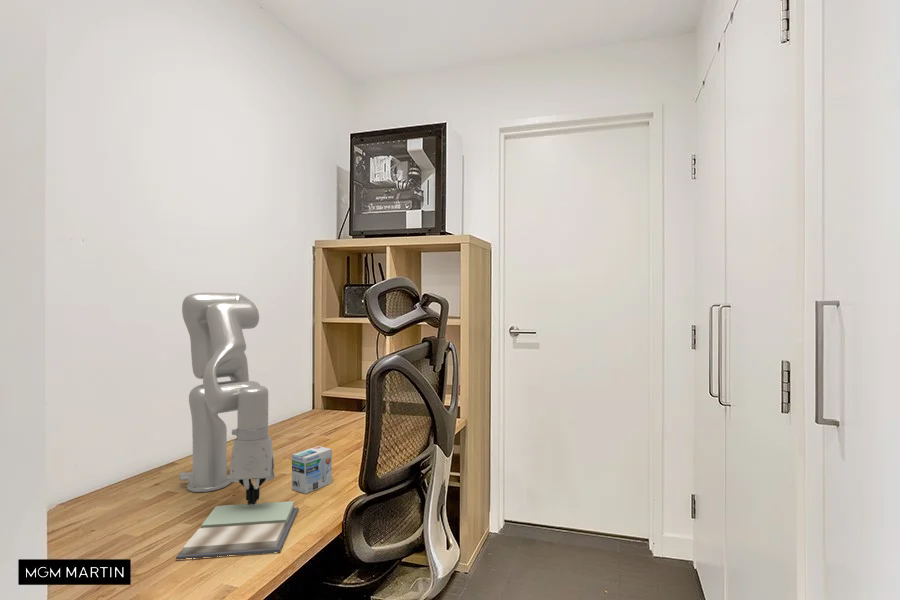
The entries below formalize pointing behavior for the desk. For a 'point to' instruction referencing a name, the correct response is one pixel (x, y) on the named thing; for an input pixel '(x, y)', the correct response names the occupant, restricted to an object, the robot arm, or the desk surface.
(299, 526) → the desk surface
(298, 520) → the desk surface
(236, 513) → the sage plank
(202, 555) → the underlay mat
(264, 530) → the oak plank
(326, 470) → the light bulb box
